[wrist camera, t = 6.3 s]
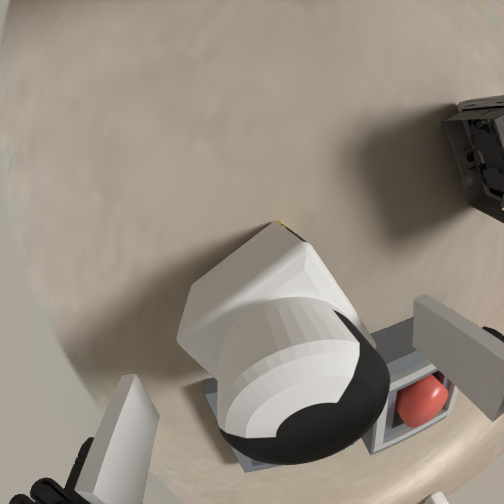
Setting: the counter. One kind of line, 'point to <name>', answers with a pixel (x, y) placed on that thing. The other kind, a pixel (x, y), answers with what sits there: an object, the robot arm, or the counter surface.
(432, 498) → the eye dropper bottle
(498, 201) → the electrical switch
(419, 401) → the button
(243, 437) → the medicine bottle
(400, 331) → the console
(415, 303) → the robot arm
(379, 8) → the counter surface
